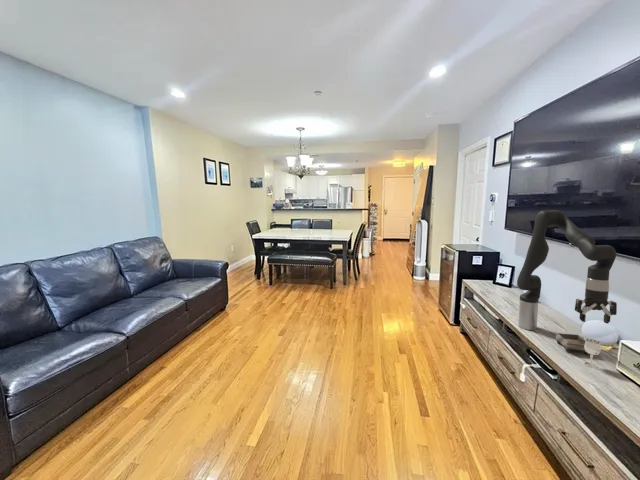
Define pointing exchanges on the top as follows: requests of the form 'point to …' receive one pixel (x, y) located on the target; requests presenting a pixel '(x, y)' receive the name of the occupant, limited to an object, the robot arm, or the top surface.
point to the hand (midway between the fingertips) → (594, 322)
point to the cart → (571, 341)
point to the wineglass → (592, 350)
